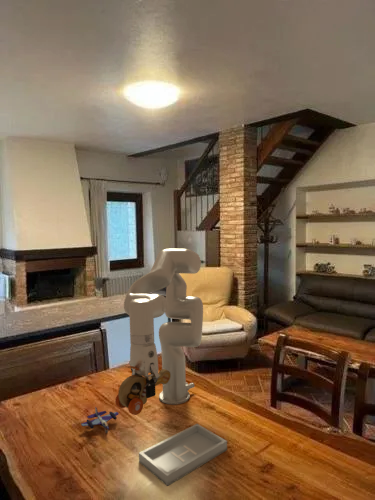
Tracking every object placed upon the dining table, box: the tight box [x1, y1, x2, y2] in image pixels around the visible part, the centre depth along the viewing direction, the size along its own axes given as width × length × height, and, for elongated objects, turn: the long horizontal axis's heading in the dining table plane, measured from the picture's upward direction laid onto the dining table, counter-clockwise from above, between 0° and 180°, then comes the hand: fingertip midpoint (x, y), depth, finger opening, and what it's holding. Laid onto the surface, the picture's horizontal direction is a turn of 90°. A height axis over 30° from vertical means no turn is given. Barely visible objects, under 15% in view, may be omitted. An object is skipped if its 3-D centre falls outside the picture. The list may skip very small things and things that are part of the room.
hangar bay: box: [138, 423, 228, 487], centre depth 117 cm, size 24×14×3 cm, turn 131°
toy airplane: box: [81, 406, 120, 434], centre depth 134 cm, size 13×14×4 cm
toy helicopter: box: [115, 364, 171, 416], centre depth 121 cm, size 8×21×14 cm, turn 137°
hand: (144, 391), depth 120 cm, fingers closed on toy helicopter, 7 cm apart
